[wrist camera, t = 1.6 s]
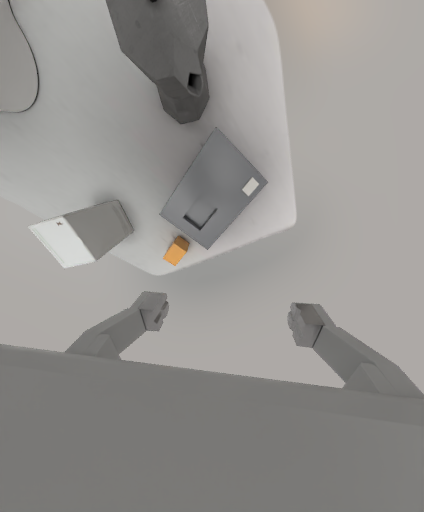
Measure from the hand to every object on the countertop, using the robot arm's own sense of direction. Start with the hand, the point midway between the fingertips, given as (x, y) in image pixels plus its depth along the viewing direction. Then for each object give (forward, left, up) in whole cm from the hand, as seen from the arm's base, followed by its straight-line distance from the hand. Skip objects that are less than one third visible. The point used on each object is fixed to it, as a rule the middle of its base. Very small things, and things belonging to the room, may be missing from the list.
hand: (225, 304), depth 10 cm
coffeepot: (-19, +13, -30) cm, 38 cm away
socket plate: (-3, +2, -30) cm, 30 cm away
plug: (-2, -13, -30) cm, 33 cm away
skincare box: (-18, -17, -30) cm, 39 cm away
